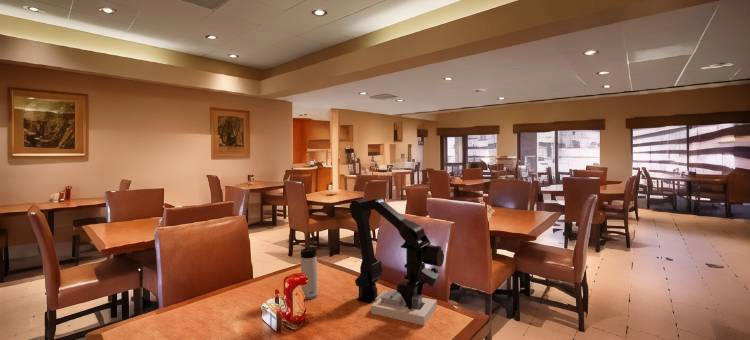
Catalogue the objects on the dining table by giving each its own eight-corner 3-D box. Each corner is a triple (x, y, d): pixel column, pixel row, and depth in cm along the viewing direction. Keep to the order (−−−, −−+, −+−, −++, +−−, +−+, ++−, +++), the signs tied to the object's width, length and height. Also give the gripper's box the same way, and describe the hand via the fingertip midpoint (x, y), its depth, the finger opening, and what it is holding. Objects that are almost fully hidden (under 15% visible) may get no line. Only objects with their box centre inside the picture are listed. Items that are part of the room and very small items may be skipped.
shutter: (406, 298, 129) (406, 291, 129) (399, 306, 123) (399, 298, 123) (389, 294, 132) (389, 287, 132) (381, 302, 126) (381, 295, 126)
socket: (436, 308, 128) (436, 296, 127) (424, 325, 115) (424, 313, 115) (387, 298, 137) (387, 287, 136) (371, 313, 124) (371, 302, 124)
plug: (418, 316, 121) (417, 299, 121) (407, 313, 123) (407, 297, 123) (422, 311, 125) (422, 295, 124) (411, 308, 127) (411, 293, 126)
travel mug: (315, 300, 135) (313, 250, 134) (299, 299, 137) (297, 249, 135) (320, 293, 142) (319, 246, 140) (305, 292, 143) (304, 245, 142)
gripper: (427, 273, 111) (427, 320, 112) (443, 256, 127) (443, 297, 128) (395, 268, 116) (396, 313, 117) (415, 252, 133) (415, 292, 134)
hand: (414, 303), depth 124 cm, fingers open, 9 cm apart
